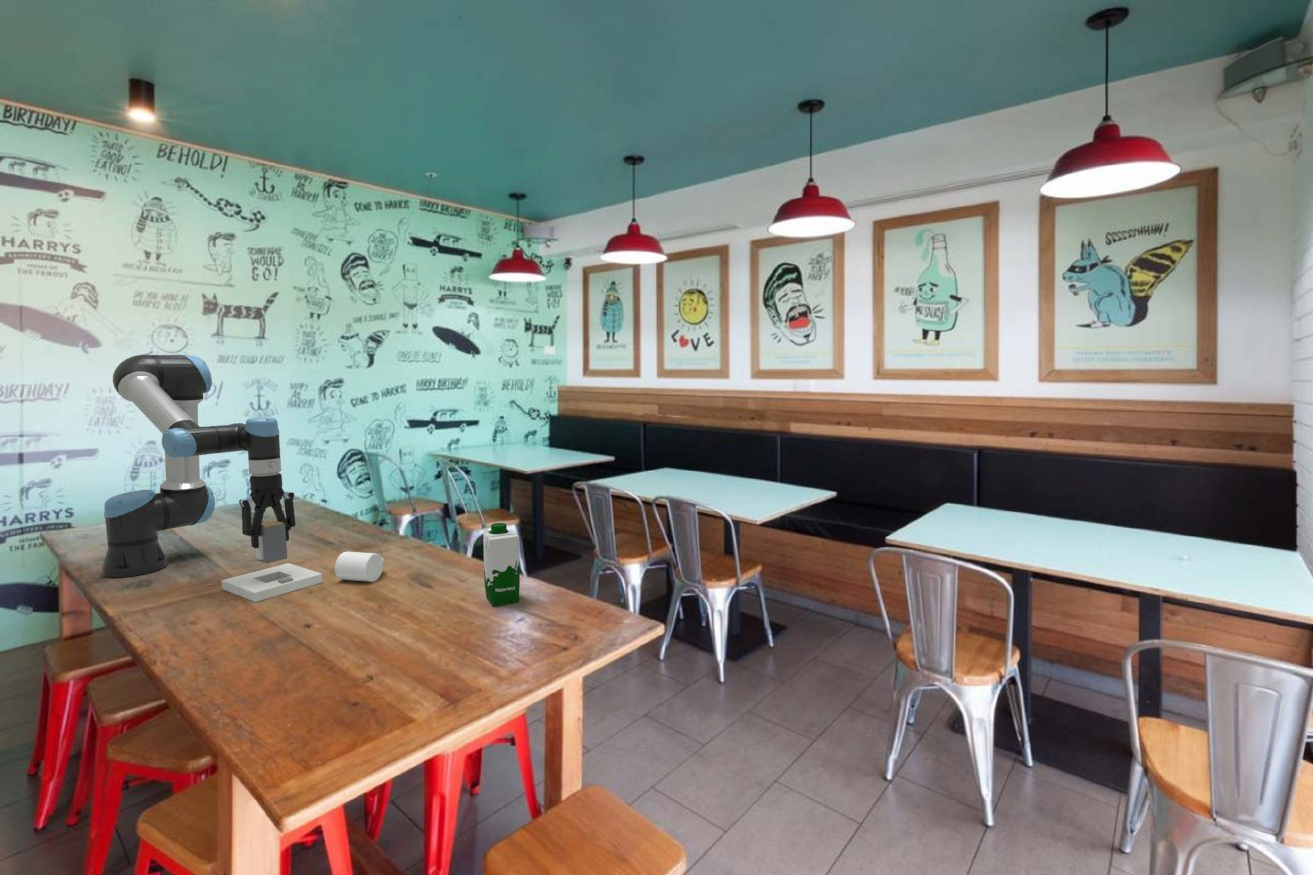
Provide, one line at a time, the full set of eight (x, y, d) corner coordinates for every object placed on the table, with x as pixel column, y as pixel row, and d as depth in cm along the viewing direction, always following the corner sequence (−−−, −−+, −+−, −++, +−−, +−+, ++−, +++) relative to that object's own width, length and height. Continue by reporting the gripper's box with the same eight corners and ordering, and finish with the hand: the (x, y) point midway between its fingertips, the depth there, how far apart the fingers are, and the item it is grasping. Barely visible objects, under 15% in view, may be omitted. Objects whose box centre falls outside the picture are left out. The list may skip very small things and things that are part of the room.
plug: (256, 560, 174) (253, 523, 173) (277, 555, 179) (274, 519, 178) (266, 563, 171) (264, 526, 170) (287, 558, 176) (284, 522, 175)
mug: (366, 585, 176) (365, 558, 176) (335, 583, 178) (333, 555, 177) (392, 572, 188) (391, 546, 187) (362, 569, 190) (361, 544, 189)
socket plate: (222, 588, 173) (221, 578, 173) (288, 571, 188) (288, 561, 188) (255, 602, 164) (254, 590, 163) (322, 582, 179) (322, 571, 178)
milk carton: (514, 592, 172) (512, 520, 169) (523, 603, 164) (522, 528, 161) (482, 597, 168) (480, 524, 165) (489, 609, 160) (487, 532, 157)
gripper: (235, 480, 163) (242, 566, 165) (306, 470, 178) (312, 549, 181) (221, 477, 167) (228, 562, 169) (292, 468, 182) (298, 546, 185)
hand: (271, 555), depth 175 cm, fingers closed on plug, 5 cm apart
